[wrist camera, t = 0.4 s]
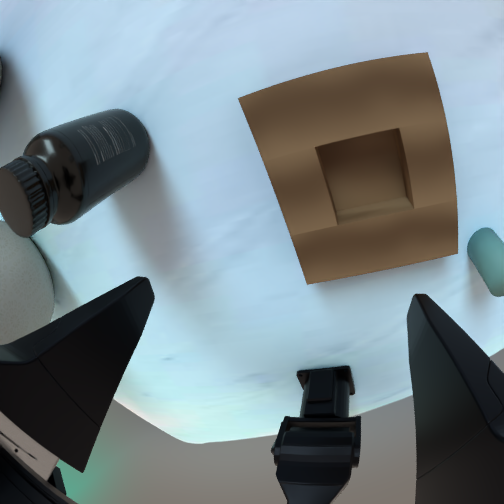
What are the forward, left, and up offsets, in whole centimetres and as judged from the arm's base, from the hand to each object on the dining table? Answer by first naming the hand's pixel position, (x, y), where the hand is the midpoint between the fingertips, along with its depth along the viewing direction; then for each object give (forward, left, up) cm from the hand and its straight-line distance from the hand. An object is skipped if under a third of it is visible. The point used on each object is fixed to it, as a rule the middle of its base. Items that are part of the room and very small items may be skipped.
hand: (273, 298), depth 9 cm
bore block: (-1, -4, -14) cm, 14 cm away
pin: (-10, -14, -14) cm, 22 cm away
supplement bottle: (+7, +14, -14) cm, 21 cm away
